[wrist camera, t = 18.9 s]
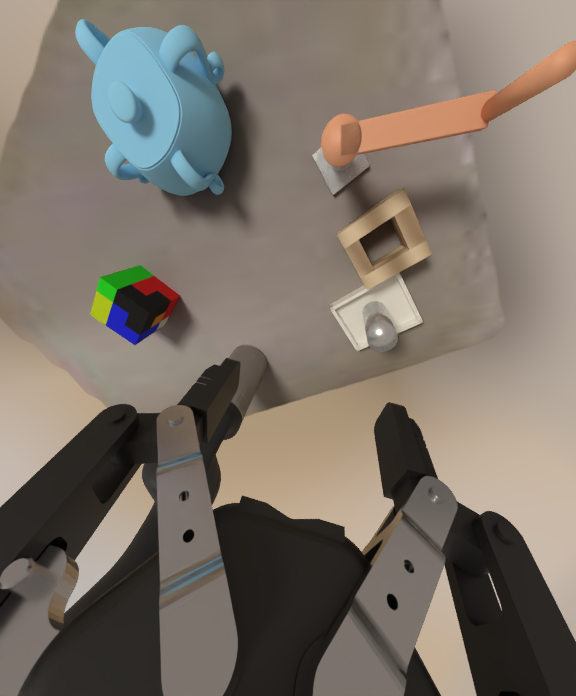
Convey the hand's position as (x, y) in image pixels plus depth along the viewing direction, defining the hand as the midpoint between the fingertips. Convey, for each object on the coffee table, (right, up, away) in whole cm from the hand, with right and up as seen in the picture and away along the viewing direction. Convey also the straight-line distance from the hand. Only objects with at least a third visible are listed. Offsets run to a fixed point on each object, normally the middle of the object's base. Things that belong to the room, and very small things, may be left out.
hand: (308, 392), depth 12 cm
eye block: (+14, +21, +26) cm, 36 cm away
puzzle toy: (-32, +14, +41) cm, 54 cm away
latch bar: (+10, +24, +11) cm, 28 cm away
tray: (+16, +10, +32) cm, 37 cm away
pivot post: (+7, +30, +22) cm, 38 cm away
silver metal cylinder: (+16, +9, +32) cm, 37 cm away
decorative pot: (-16, +36, +24) cm, 46 cm away
